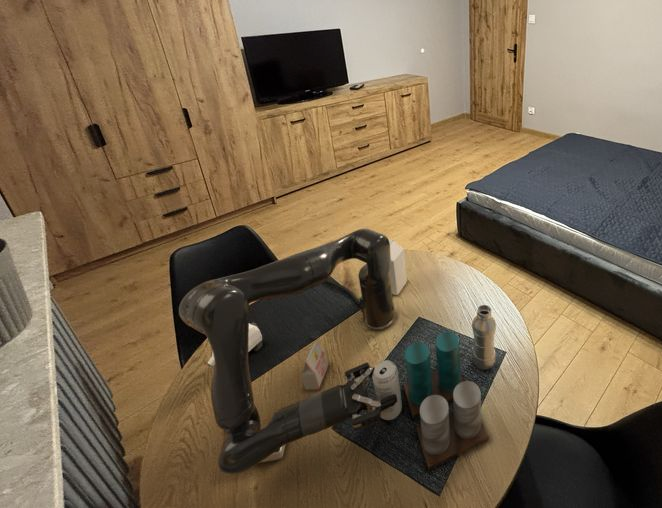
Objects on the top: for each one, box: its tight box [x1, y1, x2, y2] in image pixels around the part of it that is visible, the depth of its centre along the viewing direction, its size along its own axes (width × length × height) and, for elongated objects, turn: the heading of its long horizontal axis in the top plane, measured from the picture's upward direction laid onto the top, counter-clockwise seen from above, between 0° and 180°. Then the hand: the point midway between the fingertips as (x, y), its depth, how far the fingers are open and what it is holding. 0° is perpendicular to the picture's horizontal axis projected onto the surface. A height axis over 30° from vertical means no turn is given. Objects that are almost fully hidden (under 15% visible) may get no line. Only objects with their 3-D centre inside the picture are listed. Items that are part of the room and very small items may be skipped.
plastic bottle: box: [471, 304, 497, 371], centre depth 101 cm, size 6×7×20 cm
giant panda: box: [206, 322, 263, 367], centre depth 105 cm, size 15×6×10 cm, turn 157°
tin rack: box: [416, 380, 490, 471], centre depth 85 cm, size 15×9×12 cm, turn 114°
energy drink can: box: [372, 359, 403, 421], centre depth 90 cm, size 6×6×15 cm
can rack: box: [402, 331, 464, 419], centre depth 95 cm, size 15×9×16 cm, turn 114°
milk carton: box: [389, 237, 408, 296], centre depth 130 cm, size 7×7×19 cm
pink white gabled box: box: [300, 340, 329, 391], centre depth 100 cm, size 4×7×10 cm, turn 178°
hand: (392, 382), depth 90 cm, fingers open, 8 cm apart
